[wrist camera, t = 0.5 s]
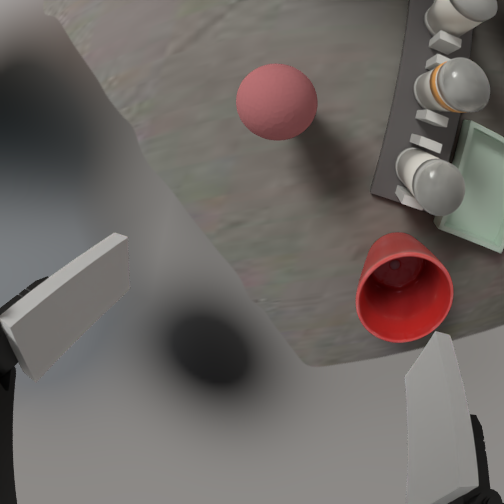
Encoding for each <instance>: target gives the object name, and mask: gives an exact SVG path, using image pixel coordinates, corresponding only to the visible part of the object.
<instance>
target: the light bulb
mask: <svg viewBox="0 0 504 504" xmlns="http://www.w3.org/2000/svg"><path fill="white" fill-rule="evenodd" d="M236 105H237V111H238V114H239V116H240V119H241V120H242V122H243V123H244V125H245V126H246V127H247V128H248V129H249V130H250V131H251V132H253V133H254V134H256V135H258V136H260V137H262V138H265V139H269V140H286V139H290V138H293V137H295V136H297V135H299V134H301V133H302V132H304V131H305V130H306V129H307V128H308V127H309V125H310V124H311V123H312V121H313V119H314V117H315V114H316V111H317V95H316V91H315V89H314V86H313V84H312V83H311V81H310V80H309V79H308V78H307V76H305V75H304V74H303V73H302V72H301V71H299V70H297V69H296V68H294V67H291V66H288V65H283V64H268V65H264V66H261V67H259V68H257V69H255V70H253V71H252V72H251V73H249V74H248V75H247V76H246V77H245V78H244V80H243V81H242V83H241V85H240V87H239V89H238V92H237V98H236Z"/></svg>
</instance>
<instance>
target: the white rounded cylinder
mask: <svg viewBox="0 0 504 504" xmlns="http://www.w3.org/2000/svg"><path fill="white" fill-rule="evenodd" d="M497 9H498V6H497V1H496V0H436V1H435V2H434V3H433V5H432V6H431V7H430V8H429V9H428V10H427V11H426V13H425V14H424V18H423V22H424V26H425V28H426V30H427V31H428V33H429V34H430V35H431V36H432V37H433V36H435V35H436V34H437V33H438V32H439V31H440V30H441V31H444V32H446V33H448V34H451V35H453V36H455V37H457V38H459V37H460V36H462V35H463V34H465V33H466V32H468V31H470V30H471V29H473V28H474V27H476V26H478V25H479V24H481V23H482V22H485V21H487V20H488V19H490V18H492V17H493V16H495V14H496V13H497Z"/></svg>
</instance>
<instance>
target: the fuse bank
mask: <svg viewBox="0 0 504 504" xmlns="http://www.w3.org/2000/svg"><path fill="white" fill-rule="evenodd" d="M435 1H436V0H409V6H408V14H407V22H406V29H405V36H404V42H403V49H402V55H401V60H400V66H399V72H398V77H397V82H396V87H395V92H394V97H393V101H392V106H391V111H390V115H389V119H388V124H387V128H386V132H385V136H384V140H383V144H382V148H381V152H380V156H379V160H378V163H377V167H376V171H375V174H374V178H373V181H372V185H371V188H370V193H372V194H375V195H378V196H381V197H384V198H387V199H391V200H394V201H397V202H400V203H402V204H404V205H407V206H410V207H413V208H416V209H419V210H421V211H422V210H423V211H425V210H424V209H423V208H422V207H421V205H420V204H419V203H418V201H417V200H416V198H415V197H414V196H413V194H412V193H411V192H410V191H409V189H408V188H407V187H406V186H405V185H404V184H403V183H402V182H401V181H400V179H399V178H398V176H397V175H396V172H395V160H396V157H397V155H398V154H399V153H400V152H401V151H402V150H404V149H405V148H408V147H416V148H419V149H421V150H424V151H425V152H427V153H429V154H431V155H433V156H435V157H437V158H439V159H442V160H445V161H447V162H448V161H449V158H450V154H451V150H452V147H453V143H454V139H455V135H456V131H457V126H458V122H459V117H460V113H455V112H433V111H430V110H428V109H426V110H425V109H423V108H422V107H420V106H419V105H418V103H417V102H416V100H415V98H414V96H413V83H414V81H415V80H416V78H417V77H418V76H420V75H422V74H424V73H426V72H429V71H431V70H433V69H434V68H435V67H437V66H438V65H440V64H442V63H444V62H446V61H449V60H451V59H454V58H460V57H461V58H467V59H469V60H470V52H471V43H472V32H473V29H471V30H470V31H468V32H466V33H465V34H463V35H462V36H460V37H459V38H457V37H455V36H453V35H451V34H448V33H446V32H444V31H441V30H440V31H439V32H438V33H437V34H436V35H435V36H433V37H432V36H431V35H430V34H429V33H428V31H427V30H426V28H425V26H424V22H423V18H424V14H425V13H426V11H427V10H428V9H429V8H430V7H431V6H432V5H433V3H434V2H435ZM425 212H427V211H425Z"/></svg>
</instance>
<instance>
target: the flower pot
mask: <svg viewBox="0 0 504 504" xmlns="http://www.w3.org/2000/svg"><path fill="white" fill-rule="evenodd" d="M453 293H454V291H453V283H452V279H451V277H450V274H449V272H448V271H447V269H446V268H445V266H444V265H443V264H442V263H441V262H440V261H439V260H438V259H437V258H436V257H435V256H434V255H433V254H432V253H431V252H430V251H429V250H428V249H427V248H426V247H425V246H424V245H423V244H422V243H420V242H419V241H418V240H417V239H415V238H414V237H412V236H411V235H408V234H406V233H398V232H396V233H390V234H387V235H384V236H382V237H381V238H379V239H378V240H377V241H376V242H375V243H374V244H373V245H372V246H371V248H370V250H369V253H368V255H367V258H366V261H365V264H364V267H363V270H362V274H361V277H360V280H359V284H358V288H357V293H356V310H357V314H358V317H359V319H360V321H361V323H362V324H363V326H364V327H365V328H366V329H367V330H368V331H369V332H370V333H371V334H373V335H374V336H376V337H378V338H380V339H382V340H385V341H388V342H394V343H403V342H410V341H414V340H417V339H420V338H422V337H424V336H426V335H428V334H429V333H431V332H432V331H434V330H435V329H436V328H437V327H438V326H439V325H440V324H441V323H442V322H443V320H444V319H445V318H446V316H447V314H448V312H449V310H450V308H451V305H452V302H453Z"/></svg>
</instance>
